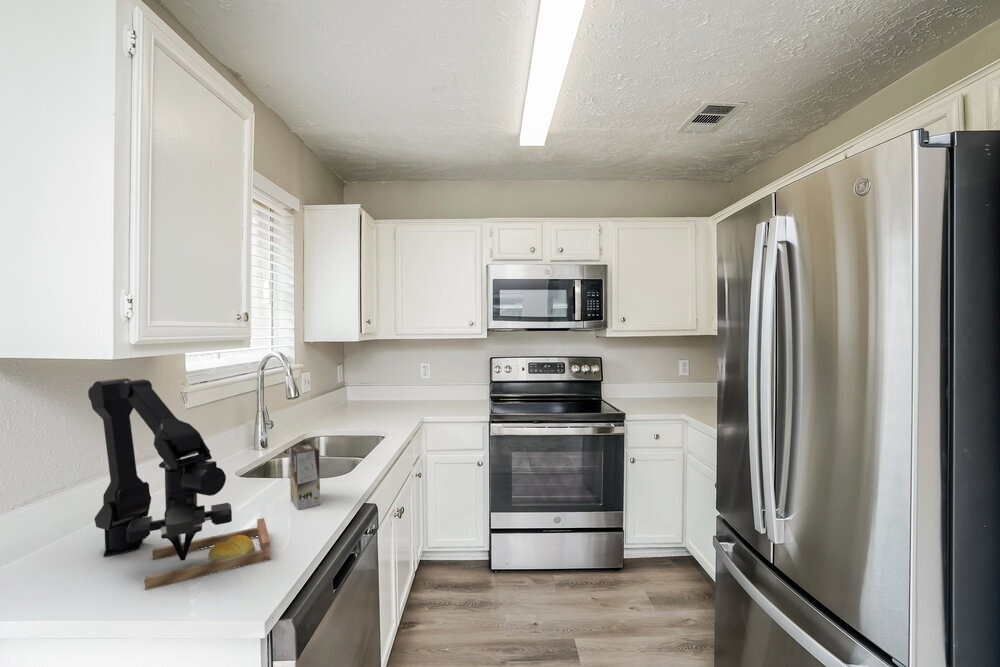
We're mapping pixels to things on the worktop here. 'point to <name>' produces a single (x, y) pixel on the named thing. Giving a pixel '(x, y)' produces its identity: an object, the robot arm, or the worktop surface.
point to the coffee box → (304, 476)
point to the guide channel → (215, 565)
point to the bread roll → (231, 548)
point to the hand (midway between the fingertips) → (183, 559)
